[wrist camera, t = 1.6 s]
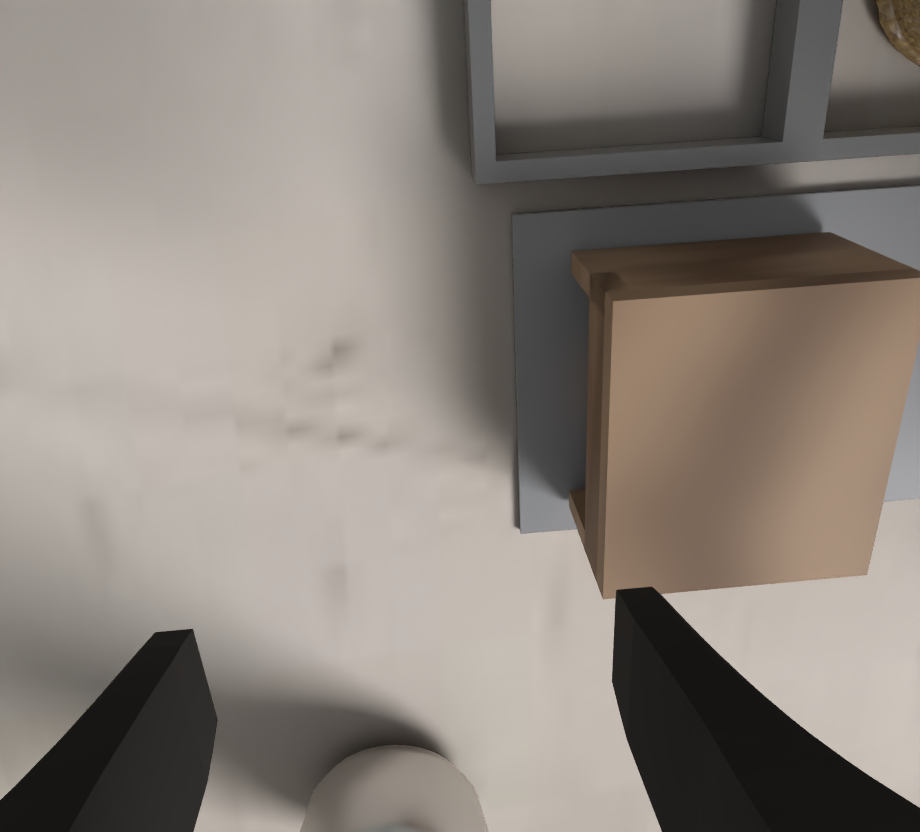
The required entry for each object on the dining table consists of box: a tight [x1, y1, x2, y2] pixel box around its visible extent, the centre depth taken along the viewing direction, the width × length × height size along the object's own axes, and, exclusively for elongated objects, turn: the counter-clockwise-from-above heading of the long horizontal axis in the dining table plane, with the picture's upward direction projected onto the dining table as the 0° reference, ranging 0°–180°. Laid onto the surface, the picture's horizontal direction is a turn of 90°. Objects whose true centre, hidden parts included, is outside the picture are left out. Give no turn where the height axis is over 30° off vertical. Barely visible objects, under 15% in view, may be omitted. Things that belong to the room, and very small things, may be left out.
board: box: [512, 185, 920, 534], centre depth 22 cm, size 16×10×2 cm, turn 93°
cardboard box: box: [569, 232, 920, 599], centre depth 20 cm, size 7×8×4 cm
